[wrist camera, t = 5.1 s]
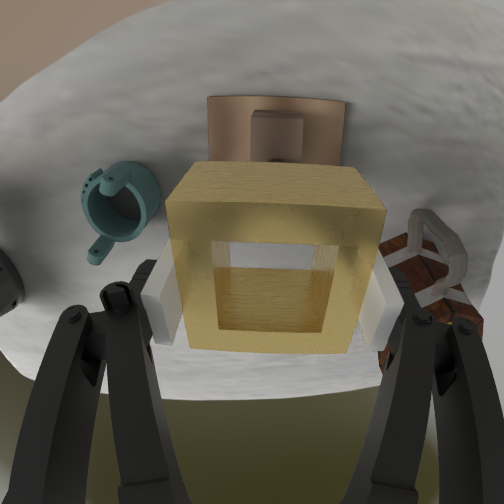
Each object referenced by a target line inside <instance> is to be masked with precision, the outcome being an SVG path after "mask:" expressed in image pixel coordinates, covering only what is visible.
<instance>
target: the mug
mask: <svg viewBox="0 0 504 504" xmlns="http://www.w3.org/2000/svg"><path fill="white" fill-rule="evenodd" d="M423 222H424V223H425V224H426V225H427V227H428V228H429V229H430V230H431V232H432V233H433V234H434V235H436V236H437V237H438V238H439V239H440V240H441V241H442V242H443V243H444V246H445V248H446V250H447V252H448V254H449V267H448V266H447V265H446V263H445V262H444V261H443V259H442V258H441V256H440V255H439V253H438V251H437V249H436V247H435V245H434V243H432V242H429V241H427V240H424V239H423ZM378 249H379V251H380V253H381V255H382V257H383V259H384V261H385V263H386V265H387V267H397V268H398V269H399V270H400V271H402V272H403V273H404V274H405V276H406V278H407V280H408V283H409V284H410V286H411V289H412V290H413V292H414V294H415V296H416V298H417V300H418V302H419V304H420V306H421V308H424V309H426V310H428V311H429V312H430V313H432V315H433V316H434V317H435V321H438V322H441V323H446V324H450V325H451V324H452V322H453V320H454V319H455V318H456V317H465V318H468V319H469V320H471V321H472V322H473V323H474V324H475V325H476V327H477V329H478V331H479V334H480V337H481V340H482V336H483V321H484V320H483V318H482V316H481V315H480V314H479V313H478V311H477V310H476V309H475V308H474V307H473V305H472V304H471V302H470V300H469V299H468V297H467V295H466V294H465V292H464V290H463V288H462V286H461V284H460V282H461V280H462V279H463V278H464V276H465V275H466V272H467V252H466V250H465V248H464V246H463V244H462V242H461V240H460V238H459V236H458V235H457V234H456V233H455V232H453V231H452V230H451V229H450V228H449V227H448V226H446V225H445V223H444V222H443V221H442V220H441V219H440V218H439V217H438V216H437V215H436V214H435V213H434V212H433V211H431V210H430V209H415V210H413V211H412V212H411V215H410V218H409V220H408V233H404V234H401V235H399V236H397V237H395V238H392V239H390V240H388V241H386V242H383V243H381V244H379V247H378ZM389 351H390V347H389V344H388V342H387V344H386V347H385V349H384V351H378V359H379V367H380V369H381V371H382V374H383V372H384V368H385V367H384V368H383V367H382V365H383V363H384V361H385V359H386V357H387V355H388V353H389Z"/></svg>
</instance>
